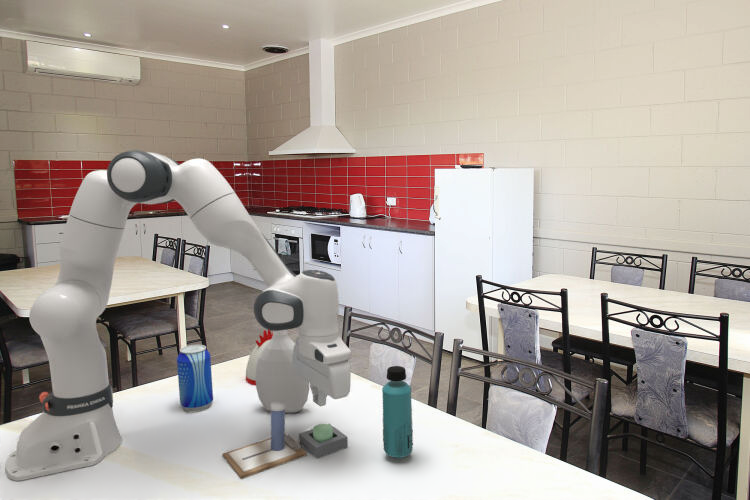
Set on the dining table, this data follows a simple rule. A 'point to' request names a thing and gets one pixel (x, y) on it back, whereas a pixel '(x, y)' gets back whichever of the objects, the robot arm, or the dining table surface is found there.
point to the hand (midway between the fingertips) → (319, 403)
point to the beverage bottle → (397, 414)
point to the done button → (322, 432)
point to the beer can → (194, 378)
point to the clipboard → (262, 456)
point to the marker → (277, 425)
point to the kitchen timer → (256, 357)
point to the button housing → (323, 443)
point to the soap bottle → (280, 375)
